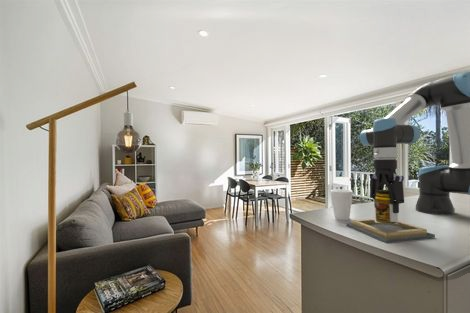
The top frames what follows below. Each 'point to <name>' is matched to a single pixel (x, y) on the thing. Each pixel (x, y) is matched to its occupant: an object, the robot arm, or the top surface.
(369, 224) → the wooden rimmed tray
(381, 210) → the condiment
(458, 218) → the top surface
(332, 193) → the foam cup
